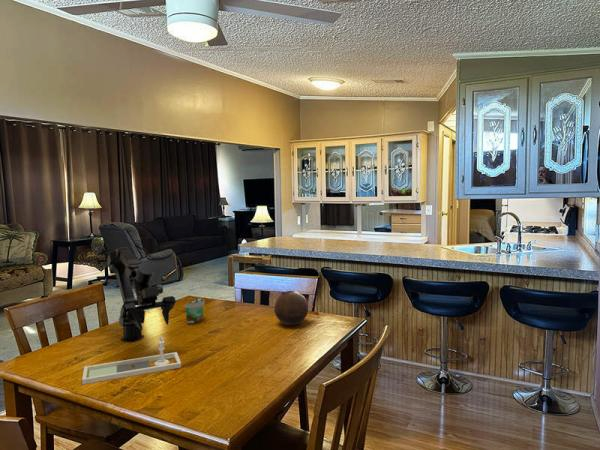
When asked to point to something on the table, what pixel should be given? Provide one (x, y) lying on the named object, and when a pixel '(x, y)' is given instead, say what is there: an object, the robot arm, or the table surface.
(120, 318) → the robot arm
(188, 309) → the food container
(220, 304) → the table surface
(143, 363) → the trap box
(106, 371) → the pad
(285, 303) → the wooden sphere
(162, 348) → the chess piece
